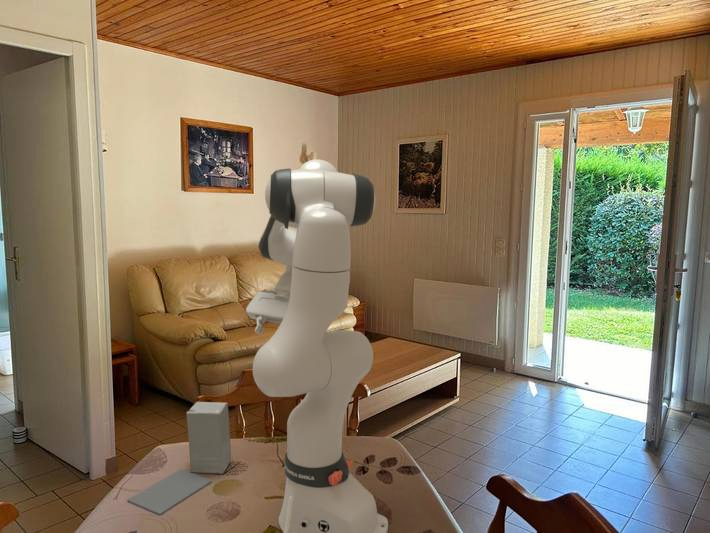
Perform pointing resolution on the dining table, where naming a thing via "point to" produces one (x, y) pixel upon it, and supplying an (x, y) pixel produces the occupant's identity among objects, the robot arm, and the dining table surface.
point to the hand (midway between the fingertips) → (268, 334)
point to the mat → (169, 491)
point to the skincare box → (209, 437)
